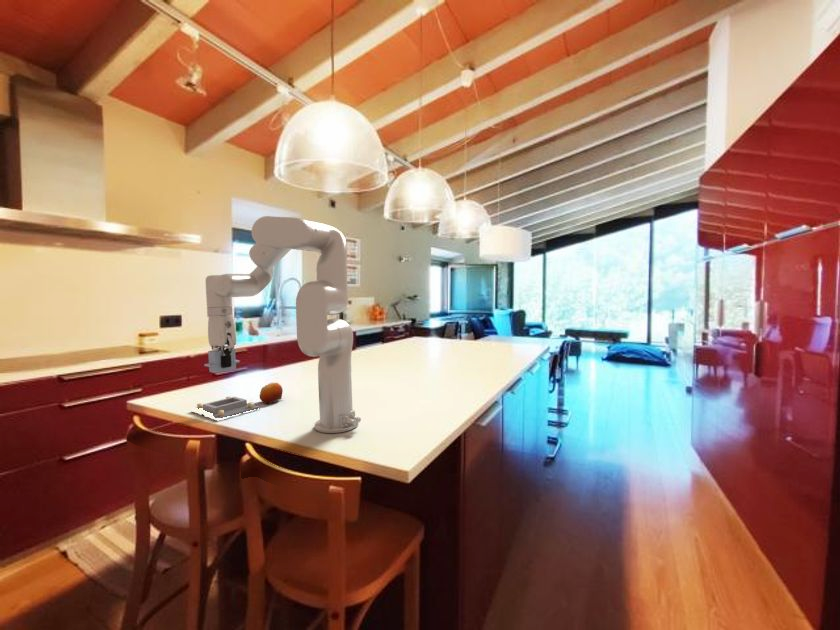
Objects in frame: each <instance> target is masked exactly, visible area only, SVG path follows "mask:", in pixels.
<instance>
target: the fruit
mask: <svg viewBox="0 0 840 630" xmlns="http://www.w3.org/2000/svg"><path fill="white" fill-rule="evenodd" d="M283 392H284V391H283V387H282V385H281V384H280V383H278V382H270V383H268V384H267V385H264V386H263V387H262V388H261V389H260V392H259V399H260V401H262V402H263V403H264V402H265V403H264V404H268V403H269V404H272V402H274V403H278V402H279V401H280V400H281V399H282V397H283Z"/></svg>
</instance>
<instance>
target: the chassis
mask: <svg viewBox="0 0 840 630" xmlns="http://www.w3.org/2000/svg"><path fill="white" fill-rule="evenodd" d="M247 401H248V400H247V399H246V398H241V397H237V396H231V395H230V396H225V398H224V399H223V398H222V399H219V400H214V401H210V402H207V403H202V402H201V403H197V405H196V408H198V409H199V408H203V410H205V411H207V412H210V413H213V416H214V417H215V418H223V417H227V416H232V415H236V414H239V413H243V412H246V411H250V410H254V409H258V408H259V409H260V406H257V405H254V402H253V401H252V402H247Z"/></svg>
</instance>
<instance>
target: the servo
mask: <svg viewBox="0 0 840 630" xmlns="http://www.w3.org/2000/svg"><path fill="white" fill-rule="evenodd" d="M207 353H208V363H204V367H206V368H207V367H208V370H209V373H213V374H217V373H223V372H229V371H234V370H237V364H238V363H240V362H241V360H238V359H236V358H237V357H236V349H235V348H234V349H233V350H232V355H231V364H232V366H231V367H226V368H222V367H221V356H222V352H221V349H219V347H215V348H213V350H212V349H210V350H208V351H207Z"/></svg>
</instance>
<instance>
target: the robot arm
mask: <svg viewBox="0 0 840 630" xmlns="http://www.w3.org/2000/svg"><path fill="white" fill-rule="evenodd" d="M251 238H252V239H253V241H254V242H255V243H254V244H253V245H252V247H250V249H249V253H248V254H249V257H250V260H251V261H252V262H253V263H254V265H256V267H255V268H254V270H252V271H251V272H250V273H249V274H248V273H222V274H211V275H208V276H206V277H205V296H206V313H207V314H206V316H207V318H208V320H207V321H208V322H207V338H208V344H209V346H210V347H211V350H213V348H215V347H219V349H221V352H222V356H221V367H222V368H226V367H231V366H232V364H231V355H232V350H233V349H235V345H237V334H236V331H237V330H236V325H235V320H234V317H233V316H234V315H233V300H232V299H233V298H242V297H243V298H245V297H254V296H257V295H259V293H261V292H262V291H263V290H265V288H266V287H267V286H268V285H269V284H270V283H271V281H272V279H273V277H274V267H275V266H277V264H278V263H279V262H280V261H281V260H282V259H283V258H284V257H285V256H286V255H287V254H288V253H289V252H290V251H292V250H298V251H307V252H316V253H318V254H320V255H319V257H318V260H317V263H316V280H315V281H314V280H313V281H308V282H306V283H304V284H302V286H300V288H299V290H298V291H297V293H296V294H297V295H296V299H295V313H296V314H295V315H296V316H295V318H296V322H295V324H296V340H297V345H298V347H299V349H300V351H301V352H302V354H304V355H306V356H308V357H312V358H315V357H316V358H317V357H319V358H318V364H317V380H318V404H319V419H318V420H317V421H315V422H314V429H315V430H316V431H317V432H320V433H323V434H338V433H344V432H349V431H351V430H354V429H355V428H357V427H358V425H359V423H360V422H361V420H362V418H361V417H358V416H356V411H355V410H353V408H354V407H353V385H352V384H353V382H352V352H353V345H354V333H353V332H354V331H353V329H352V326H351V325H350V324H349V323H348V322H347V321H346V320H344V319H341V318H329V319H328V316H330V315H331V316H332V315H337V314H340V313H342V312H344V311H345V310H346V308H347V306H348V294H349V293H348V271H347V269H348V267H347V266H348V265H347V263H348V243H347V241H346V238H345V236H344V234H343V233H342V232H341V231H340V230H339V229H337V228H336V227H334V226H332V225H330V224H326V223H323V222H318V221H313V220H309V219H305V218H299V217H294V216H293V217H291V216H290V217H289V216H270V215H265V216H261V217H259V218H258V219H257V220H255V222H254V223H253V224H252V227H251Z"/></svg>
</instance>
